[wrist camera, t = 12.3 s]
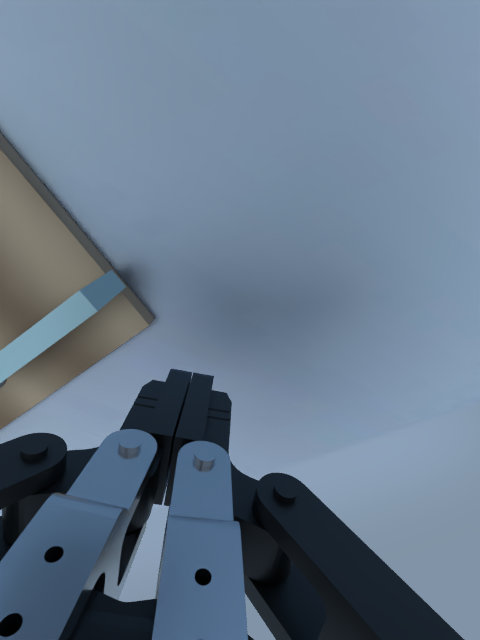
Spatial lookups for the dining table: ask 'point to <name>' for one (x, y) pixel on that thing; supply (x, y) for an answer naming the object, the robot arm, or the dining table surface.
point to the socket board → (50, 288)
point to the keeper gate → (59, 323)
